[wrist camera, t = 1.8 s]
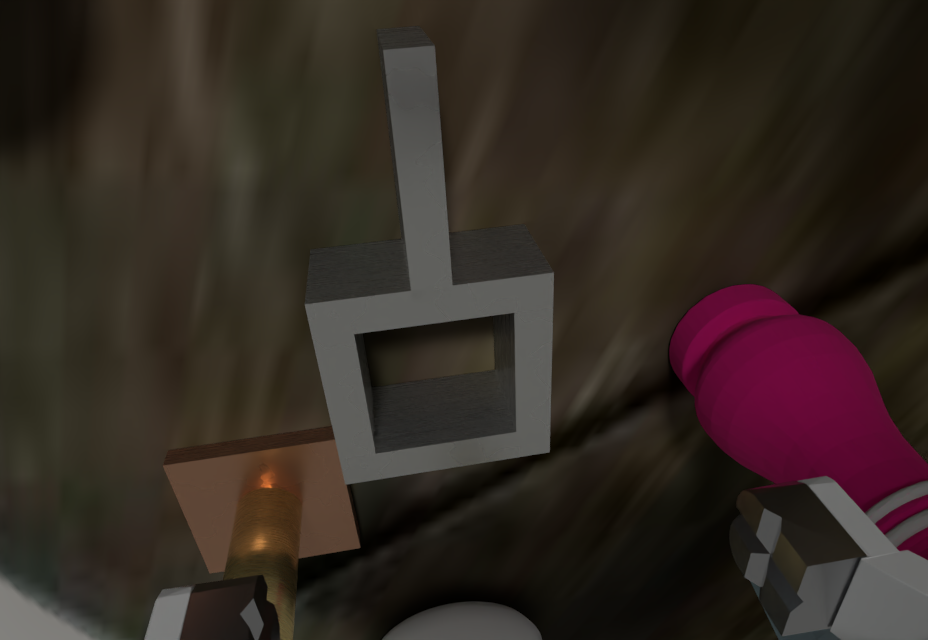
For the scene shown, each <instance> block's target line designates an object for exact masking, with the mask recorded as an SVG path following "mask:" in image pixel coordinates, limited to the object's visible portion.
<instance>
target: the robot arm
mask: <svg viewBox="0 0 928 640" xmlns="http://www.w3.org/2000/svg"><path fill="white" fill-rule="evenodd" d="M736 506H737V508H738V509H739V511H740V512H741V514H740V515H739V516H738V517H737V518H736V519H735V520H734V521H733V522H732V523H731V527H730V533H729V540H730V546H731V552H732V554H733V557H734V559H735V562H736V564H737V566H738V567H739V569H740V571H741V572H742V574H743V576H744V577H745V578H746V579H748V580H750V581H751V582H753V583H754V584H756V585H758V586H759V587H760V594H759V601H760V603H761V605H762V606H763V608H764V609H765V611H766V612H767V614H768V616H769V617H770V619H771V620H772V622H773V624H774V625H775V627H776V628H777V630H778V631H779V633H780V635H781V636H788V635H794V634H800V633H806V632H812V631H817V630H823V629H829V628H831V630H830V632H832V633H833V634H834V635H836V636H837V637H838V638H840V639H841V640H928V560H926V559H924V558H922V557H920V556H919V555H917V554H915V553H913V552H911V551H909V550H903V551H899V550H898V549H897V548H896V547H895V546H894V545H893V544H892V543H891V542H890V541H889V539H888V538H887V537H886V536H885V535H884V534H883V533H882V532H881V531H880V530H879V528H878V527H877V526H876V525H875V524H874V523H873V522H872V521H871V520H870V519H869V518H868V516H867V515H866V514H865V513H864V512H863V511H862V510H861V509H860V508H859V507H858V505H857V504H856V503H855V502H854V501H853V500H852V499H851V498H850V497H849V496H848V495H847V493H846V492H845V491H844V490H843V489H842V488H841V487H840V486H839V485H838V484H837V482H836V481H834V480H833V479H831V478H829V477H828V476H822V477H816V478H810V479H805V480H799V481H789V482H784V483H779V484H773V485H768V486H763V487H757V488H752V489H747V490H743V491H742V492H741V493H740V494H739V495H738V499H737V503H736ZM267 591H268V586H267V584H266V581H265V579H264V576H263V574H262V575H255V576H249V577H242V578H235V579H228V580H221V581H214V582H208V583H201V584H194V585H188V586H182V587H176V588H170V589H164V590H162V592H161V593H160V595H159V596H158V598H157V599H156V601H155V605H154V608H153V612H152V615H151V619H150V622H149V625H148V629H147V632H146V636H145V639H144V640H280V626H279V620H278V615H277V611H276V608H275V605H274V604H273V603H271V602H269V601H267Z"/></svg>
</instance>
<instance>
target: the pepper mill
mask: <svg viewBox="0 0 928 640" xmlns="http://www.w3.org/2000/svg"><path fill="white" fill-rule="evenodd" d="M669 357H670V363H671V365H672V368H673V370H674V372H675V374H676V375H677V376H678V378H679V379H680V380H681V382H682V383H683V384H684V386H685V387H686V388H687V390H688V391H689V392H690V393H691V394H692V395H693V396H694V397H695V409H696V414H697V417H698V420H699V422H700V424H701V426H702V427H703V429H704V430H705V432H706V433H707V434H708V435H709V437H710V438H711V439H712V440H713V441H714V442H715V443H716V444H717V446H718V447H719V448H721V449H722V450H723V451H724V452H725V453H726V454H727V455H729V456H730V457H731V458H733V459H734V460H735V461H737V462H738V463H739V464H741V465H742V466H744V467H746V468H748V469H749V470H751V471H753V472H755V473H757V474H759V475H761V476H763V477H765V478H766V479H768V480H770V481H772V482H774V483H776V484H779V483H784V482H789V481H799V480H805V479H810V478H816V477H822V476H828V477H829V478H831V479H833V480H834V481H836V482H837V484H838V485H839V486H840V487H841V488H842V489H843V490H844V491H845V492H846V493H847V495H848V496H849V497H850V498H851V499H852V500H853V501H854V502H855V503H856V504H857V505H858V507H859V508H860V509H861V510H862V511H863V512H864V513H865V514H866V515H867V516H868V518H869V519H870V520H871V521H872V522H873V523H874V524H875V525H876V526H877V527H878V528H879V530H880V531H881V532H882V533H883V534H884V535H885V536H886V537H887V538H888V539H889V541H890V542H891V543H892V544H893V545H894V546H895V547H896V548H897V549H898V550H899V551H903V550H909V551H911V552H913V553H915V554H917V555H919V556H920V557H922V558H924V559H926V560H928V464H927V463H926V462H925V461H924V459H923V458H922V457H921V456H920V455H919V454H918V453H917V452H916V451H915V450H914V448H913V447H912V446H911V445H910V444H909V443H908V442H907V441H906V440H905V439H904V438H903V436H902V435H901V433H900V431H899V430H898V428H897V427H896V425H895V424H894V422H893V421H892V419H891V418H890V416H889V414H888V412H887V409H886V407H885V405H884V403H883V400H882V397H881V395H880V392H879V389H878V386H877V384H876V381H875V378H874V375H873V373H872V371H871V369H870V368H869V366H868V364H867V363H866V361H865V360H864V358H863V356H862V355H861V353H860V352H859V351H858V349H857V348H856V347H855V345H854V344H853V343H852V342H850V341H849V340H848V339H847V338H846V337H845V336H844V335H843V334H842V333H841V332H840V331H839V330H838V329H836V328H835V327H834V326H832V325H831V324H829V323H827V322H825V321H823V320H820V319H817V318H815V317H811V316H804V315H799V313H798V312H797V311H796V310H795V309H794V308H793V307H792V306H791V305H789V304H788V303H787V302H786V301H785V300H784V299H782V298H781V297H780V296H779V295H778V294H776V293H775V292H773V291H772V290H770V289H768V288H766V287H763V286H759V285H754V284H744V285H733V286H730V287H727V288H723V289H721V290H718V291H716V292H714V293H712V294H710V295H708V296H706V297H704V298H703V299H702V300H701V301H699V302H698V303H697V304H696V305H694V306H693V307H692V308H691V309H689V310H688V312H687V313H686V314H685V316H684V317H683V318H682V319H681V321H680V322H679V323H678V325H677V327H676V329H675V331H674V333H673V336H672V338H671V343H670V349H669Z"/></svg>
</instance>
